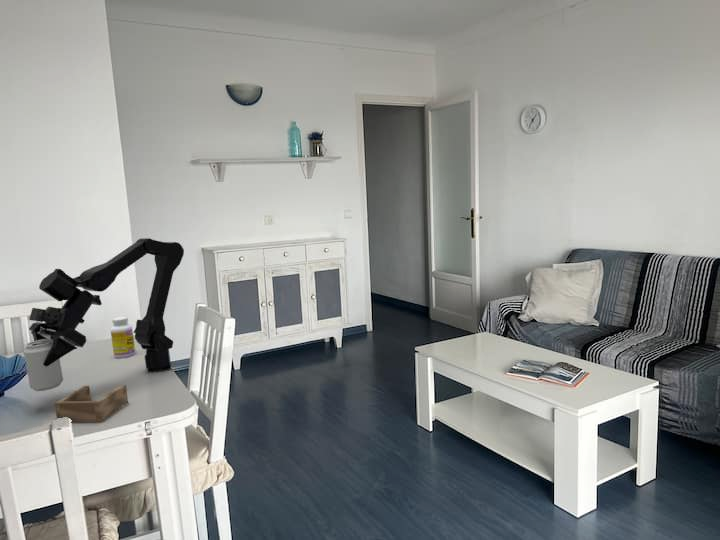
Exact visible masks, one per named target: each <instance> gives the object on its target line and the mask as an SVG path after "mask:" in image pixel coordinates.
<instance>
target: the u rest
mask: <svg viewBox="0 0 720 540" xmlns="http://www.w3.org/2000/svg"><path fill="white" fill-rule="evenodd" d="M128 399H129V398H128V391H127V385H126V384H121V385H119V386H118V387H116V388H114V389H113V390H111V391H110V392H108V393H107V394H105V395H103V396H102V397H101V398H99V399H98V400H92V396H91V390H90V385H84V386H82V387H80V388H79V389H76V390H75V391H73V392H72V393H70V394H69V395H67V396H65V397H63V398H61V399H59V400H58V401H56V402H54V408H55V416H56V419H57V418H63V417H68V418H70V419H71V420H72V422H71V423H102V422H104V421H105V420H107V419H108V418H109V417H111V416H112V415H113V414H112V413H114V412H115V411H116V410H118V409H119V408H121V407H122V406H123V405H125V404H126V403H128V404H129V400H128ZM126 405H127V404H126ZM126 405H125V406H126ZM123 407H124V406H123ZM123 407H122V408H123ZM122 408H121V409H122ZM119 410H120V409H119ZM119 410H118V411H119ZM116 412H117V411H116ZM116 412H115V413H116ZM115 413H114V414H115ZM111 414H112V415H111ZM110 415H111V416H110ZM108 416H109V417H108ZM107 417H108V418H107ZM106 418H107V419H106ZM104 419H105V420H104ZM103 420H104V421H103Z"/></svg>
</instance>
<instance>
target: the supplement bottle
mask: <svg viewBox="0 0 720 540" xmlns="http://www.w3.org/2000/svg"><path fill="white" fill-rule="evenodd" d="M128 322H129V319H128V316H119V317H114V318H113V319H112V325H113V326H112V327H111V328H110V336H111V342H112V348H113V349H112V350H113V356H114V358H116V359H123V358H130V357H132V356H134V355H135V354H136V347H135V340H134V339H135V337H134V331H133V326H132V325H131V324H130V323H128Z"/></svg>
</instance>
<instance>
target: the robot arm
mask: <svg viewBox="0 0 720 540" xmlns="http://www.w3.org/2000/svg"><path fill="white" fill-rule="evenodd" d="M184 252H185V250H184V248H183V245H182V244H181V243H179V242H176V241H173V242H172V241H166V242H165V241H161V240H156V239H153V238H151V237H150V238H148V237H147V238H145V237H144V238H139V239H137V240H136V242H134V243H133V244H132V245H130V246H128V247H127V248H125V249H124V250H122V251H121V252H120V253H117V255H115V256H114V257H112V258H110V259H109V260H108V261H106V262H105V263H102V264H99V265H96V266H92V267H90V268H88V269H86V270H83V272H81V273H80V274H79V276H76V277H71V276H70V275H68V274H66V272H65V271H64V270H62V269H61V268H55V269H54V271H53V272H50V273H49V274H48V275H47V276H46V277H44V278H43V279H42V280H41V282H40V283H39V290H41V291H42V292H43V293H45V294H46V295H48V296H49V297H51V298H53V299H54V300H55V301H58V302H63V301H65V302H64V304H63V305H62V307H53V306H48V307H46V309H43V308H37V307H32V309H31V310H30V311H31V312H30V315H29V319H28V320H29V321H33V323H32V324H31V325H30V327H29V328H28V330H29V331H30V333H31V335H32V337H33V341H37V340H42V339H53V346H52V348H51V350H50V351H49V353H48V355H47V357H46V359H45V361H44V363H43V365H44V366H49V365H50V364H52V363H53V362H55V361H56V360H58V359H59V358H60V359H61V358H63V357H64V356H66V355H67V354H69V353H71V352H72V351H75V350H77V349H78V348H84V346H85V344H86V343H87V337H86V335H84V334H83V333H81V332H80V331H77V330H76V329H77V327H78V326H79V324H82V325H83V324H84V322H85V319H84V317H85V315H86V314H87V312H88V311H89V310H90V308H91V306H92V305H96V306H101V305H102V301H101V297H100V296H101V295H100V294H93V293H91V292H99V293H100V292H104V291H106V290H107V289H108V288H109V287H110V286H111V285H112V284H113V283H114V282H115V281H116V278H117V277H118V275H120V273H122V272H123V271H125V270H126V269H128V268H129V267H130V266H132V265H134V263H136V262H137V261H139V260H141V259H142V258H143V257H144V256H146V255H152V256H154V258H153V259H154V263H155V268H156V271H155V275H154V278H153V283H152V289H151V292H150V293H151V294H150V297H149V300H148V306H147V308H146V314H145V316H144V317H142V319H136V322H135V323H136V324H135V329H134V331H133V334H134V339H135V340H136V343H138V344H139V346H141V347H140V348H141V349H143V350H146V351H145V355H144V360H145V367H146V369H147V373H154V372H160V371H165V370H166V371H167V370H171V369H172V368H171V367H172V363H173V362H172V361H171V353H170V349H173V345H174V341H173V339H171V338H169V337H168V336H167V335H166V326H165V325H166V324H165V321H164V314H165V310H166V306H167V301H168V296H169V294H170V293H169V292H170V289H171V285H172V279H173V275H174V273H175V271H176V270H177V268H179V266H180V265H181V262H182V260H183V257H184V254H185V253H184ZM79 288H82V289H83V290H81V289H79ZM34 321H35V322H34Z"/></svg>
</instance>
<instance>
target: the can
mask: <svg viewBox="0 0 720 540" xmlns="http://www.w3.org/2000/svg"><path fill="white" fill-rule="evenodd" d="M52 346H53V339H42V340H37V341H34V340H33V341H30V342H28V343H26V344H25V349H24V350H23V355H24V356H23V357H24V360H25V367H26V372H27V377H28V382H29V383H28V384H29V388H30V389H32V390H33V391H35V392H45V391H50V390H53V389H56V388H58V387H60V385H61V384H62V382H63V381H64V377H63V371H62V366H61V360H60V359H61V358H59V359H58V360H56V361H55V362H53V363H52V364H50V365H49V366H44V365H43V363H44V361H45V359H46V357H47V355H48V353H49V351H50V350H51V348H52Z"/></svg>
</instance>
